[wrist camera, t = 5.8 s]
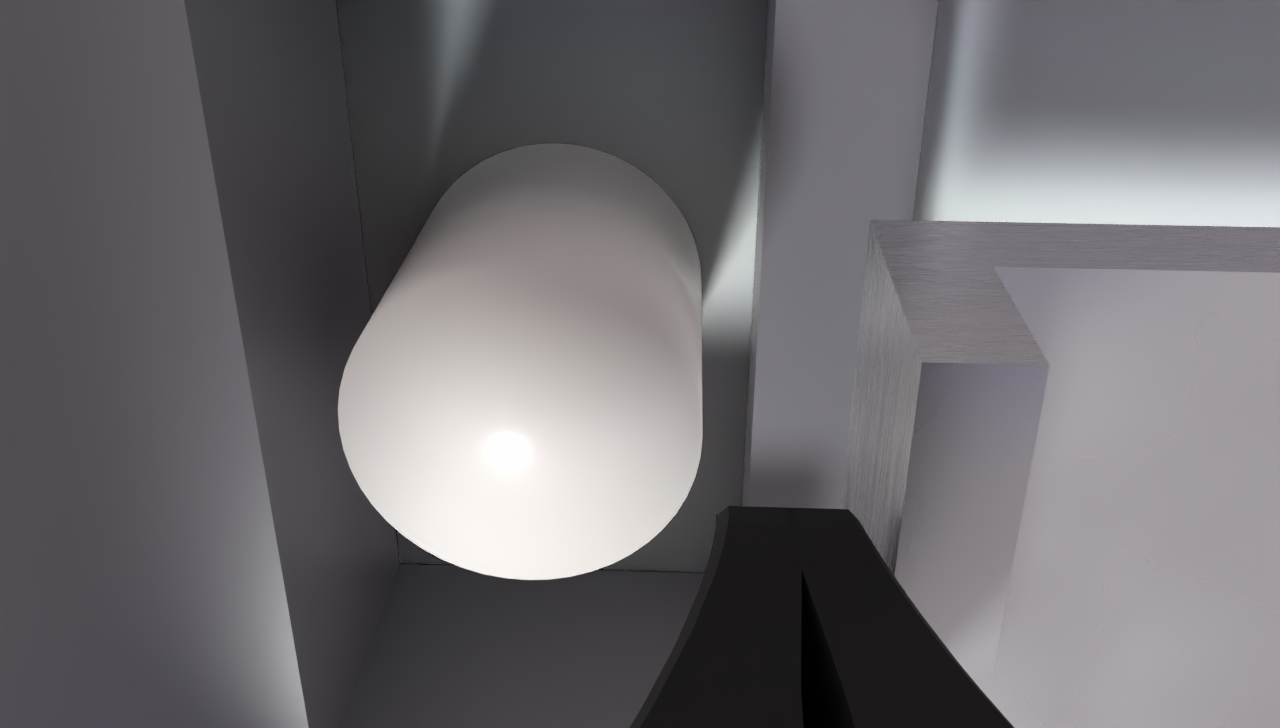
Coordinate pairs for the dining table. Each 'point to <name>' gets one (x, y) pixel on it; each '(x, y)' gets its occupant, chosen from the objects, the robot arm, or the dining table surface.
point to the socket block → (336, 378)
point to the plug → (534, 369)
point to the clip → (1079, 462)
